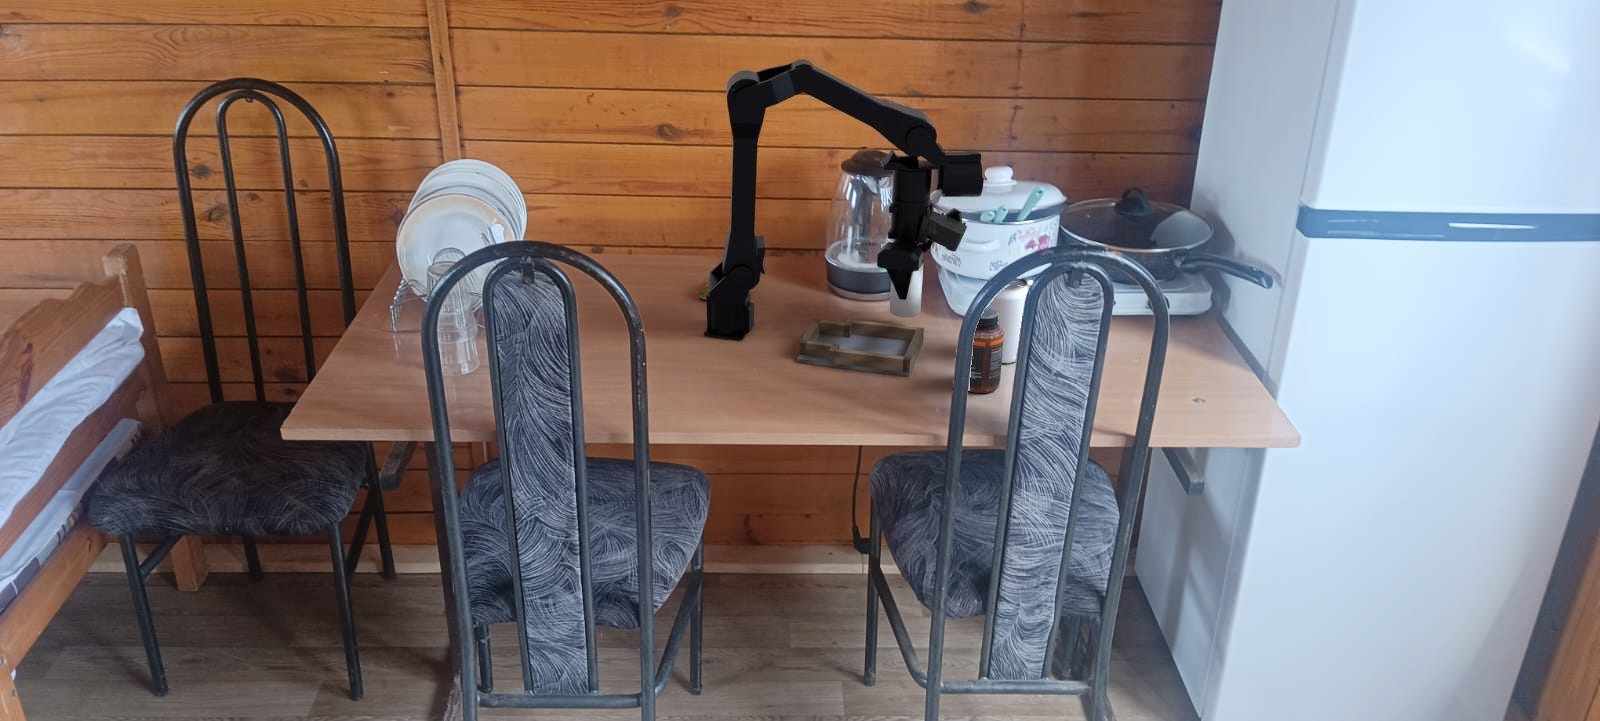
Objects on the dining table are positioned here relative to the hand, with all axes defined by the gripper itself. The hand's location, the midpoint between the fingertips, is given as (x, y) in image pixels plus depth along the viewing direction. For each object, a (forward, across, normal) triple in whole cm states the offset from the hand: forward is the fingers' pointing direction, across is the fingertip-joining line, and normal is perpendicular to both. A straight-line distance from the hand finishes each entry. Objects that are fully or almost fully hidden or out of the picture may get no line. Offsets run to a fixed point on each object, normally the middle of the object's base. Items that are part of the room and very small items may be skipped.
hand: (905, 293), depth 179 cm
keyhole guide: (+6, -11, +4) cm, 13 cm away
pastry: (+6, +6, +32) cm, 33 cm away
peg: (+3, 0, 0) cm, 3 cm away
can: (+6, -6, -16) cm, 18 cm away
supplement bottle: (+6, -17, -14) cm, 23 cm away
